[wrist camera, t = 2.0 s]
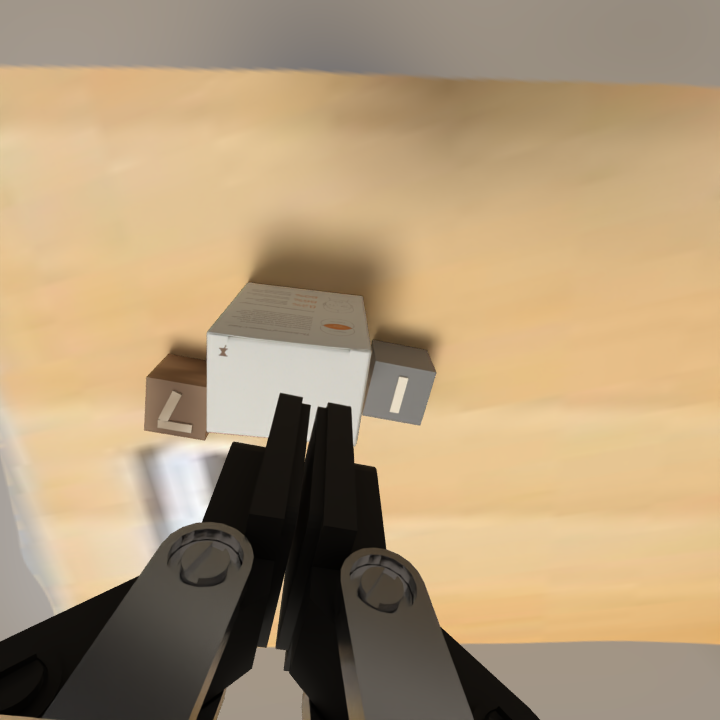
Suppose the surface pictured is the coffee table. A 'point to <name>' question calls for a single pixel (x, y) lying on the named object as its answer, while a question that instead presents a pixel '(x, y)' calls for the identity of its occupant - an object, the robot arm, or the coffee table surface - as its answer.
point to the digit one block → (398, 383)
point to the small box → (285, 357)
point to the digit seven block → (177, 398)
